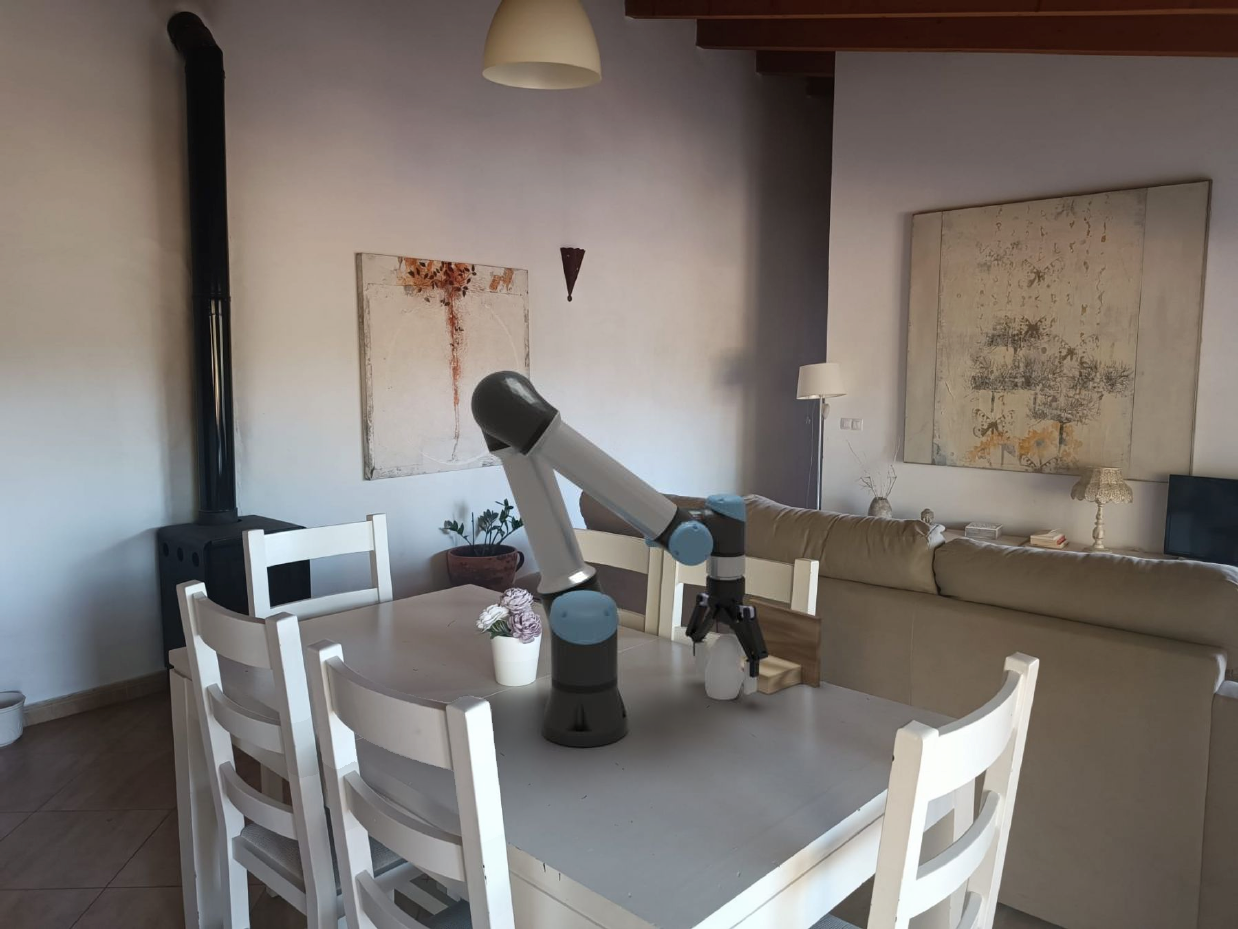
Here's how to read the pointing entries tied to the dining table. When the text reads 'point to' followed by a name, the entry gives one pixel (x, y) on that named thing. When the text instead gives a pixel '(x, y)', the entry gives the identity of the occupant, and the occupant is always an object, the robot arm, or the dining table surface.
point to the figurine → (724, 668)
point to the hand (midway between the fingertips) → (724, 683)
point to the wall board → (787, 647)
